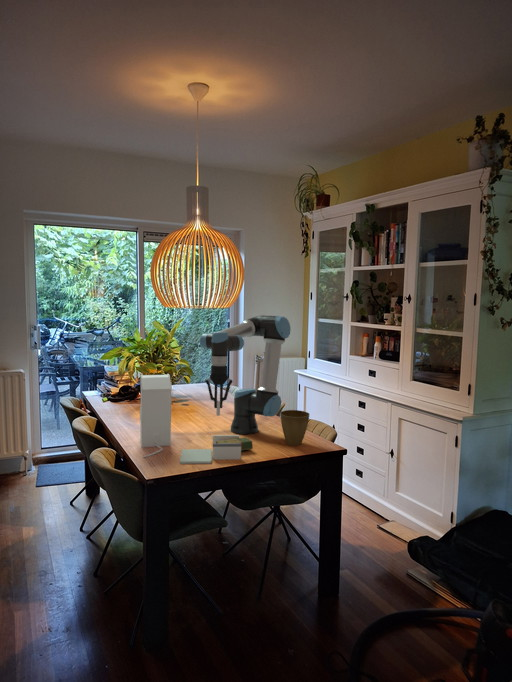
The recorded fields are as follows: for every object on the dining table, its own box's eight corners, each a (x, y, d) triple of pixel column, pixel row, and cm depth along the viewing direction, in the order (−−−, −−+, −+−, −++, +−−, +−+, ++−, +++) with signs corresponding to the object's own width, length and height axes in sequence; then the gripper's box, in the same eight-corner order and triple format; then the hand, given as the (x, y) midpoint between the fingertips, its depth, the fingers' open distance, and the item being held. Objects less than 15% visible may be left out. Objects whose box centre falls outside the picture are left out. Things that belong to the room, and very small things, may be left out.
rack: (212, 447, 247) (212, 432, 246) (238, 446, 248) (239, 432, 247) (212, 459, 228) (212, 444, 227) (240, 459, 229) (241, 444, 228)
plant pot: (273, 443, 255) (274, 412, 254) (292, 438, 265) (293, 408, 264) (295, 450, 244) (296, 418, 243) (314, 444, 255) (315, 413, 254)
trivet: (182, 451, 239) (182, 449, 239) (211, 451, 240) (211, 449, 240) (179, 463, 221) (179, 461, 221) (211, 463, 223) (211, 461, 222)
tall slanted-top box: (166, 436, 265) (166, 370, 262) (174, 456, 231) (174, 382, 228) (139, 437, 261) (139, 371, 258) (142, 458, 227) (142, 382, 224)
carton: (215, 449, 241) (215, 440, 241) (245, 444, 248) (245, 436, 248) (222, 454, 234) (222, 445, 234) (252, 449, 241) (252, 440, 241)
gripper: (205, 365, 228) (204, 416, 230) (233, 366, 229) (232, 416, 231) (205, 363, 235) (204, 413, 237) (232, 364, 237) (231, 413, 238)
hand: (218, 414), depth 234 cm, fingers closed
